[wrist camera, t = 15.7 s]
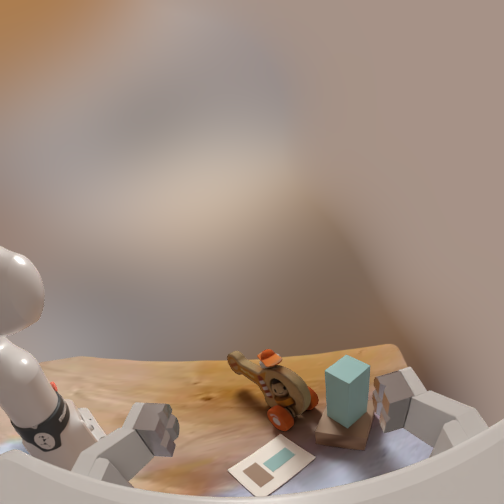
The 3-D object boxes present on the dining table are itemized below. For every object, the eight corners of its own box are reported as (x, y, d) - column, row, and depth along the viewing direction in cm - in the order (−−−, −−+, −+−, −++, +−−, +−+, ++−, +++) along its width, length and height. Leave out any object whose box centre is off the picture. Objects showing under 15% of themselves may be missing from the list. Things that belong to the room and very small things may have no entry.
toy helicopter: (292, 439, 39) (282, 382, 36) (220, 388, 55) (203, 335, 52) (324, 410, 44) (321, 352, 40) (250, 370, 60) (237, 317, 56)
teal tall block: (327, 415, 39) (324, 370, 36) (346, 400, 41) (346, 354, 38) (347, 428, 35) (348, 383, 32) (366, 411, 37) (370, 365, 35)
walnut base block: (315, 444, 37) (314, 431, 36) (330, 410, 44) (330, 396, 43) (364, 451, 33) (366, 438, 32) (374, 415, 40) (375, 400, 39)
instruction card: (227, 470, 35) (227, 469, 34) (280, 434, 41) (280, 433, 41) (260, 500, 28) (259, 500, 28) (315, 457, 34) (315, 456, 34)
